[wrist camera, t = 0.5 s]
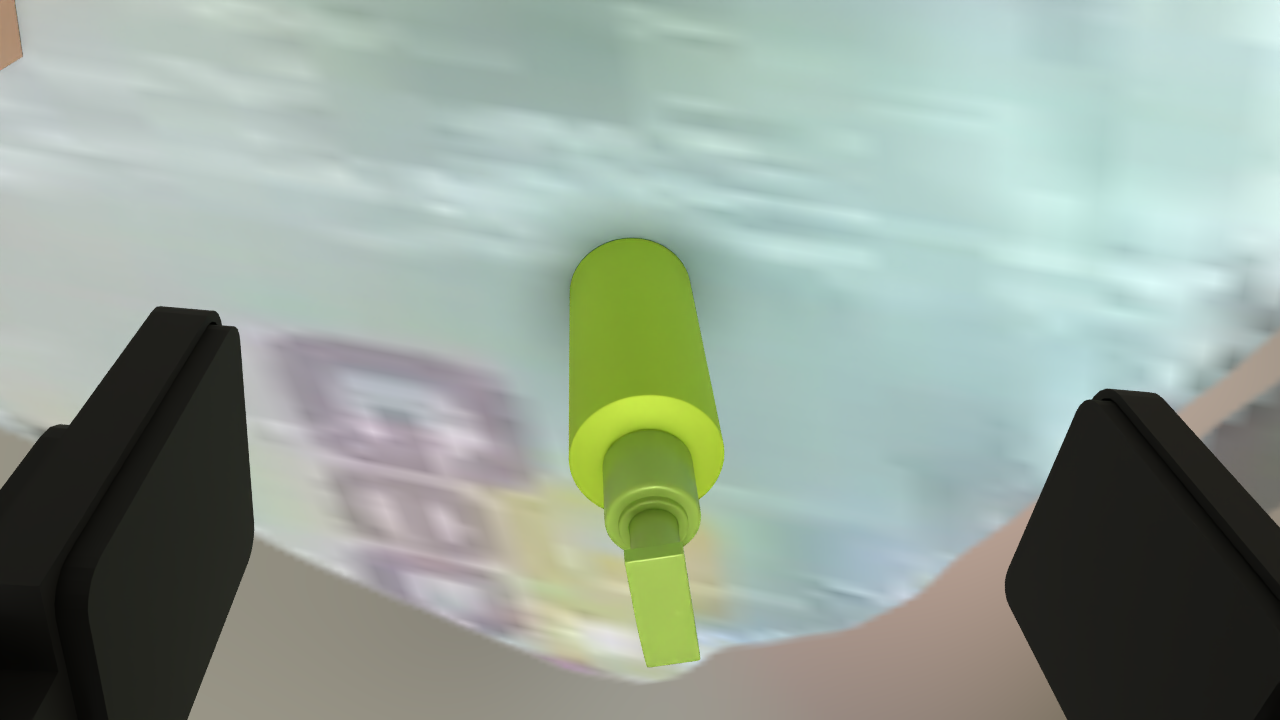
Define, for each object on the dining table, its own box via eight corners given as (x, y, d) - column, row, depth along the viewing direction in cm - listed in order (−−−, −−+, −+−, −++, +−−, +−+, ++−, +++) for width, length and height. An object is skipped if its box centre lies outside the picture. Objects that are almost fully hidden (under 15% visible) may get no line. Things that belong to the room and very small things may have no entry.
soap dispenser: (584, 369, 51) (590, 687, 35) (559, 248, 48) (552, 538, 31) (699, 352, 51) (761, 664, 34) (683, 229, 48) (743, 511, 31)
